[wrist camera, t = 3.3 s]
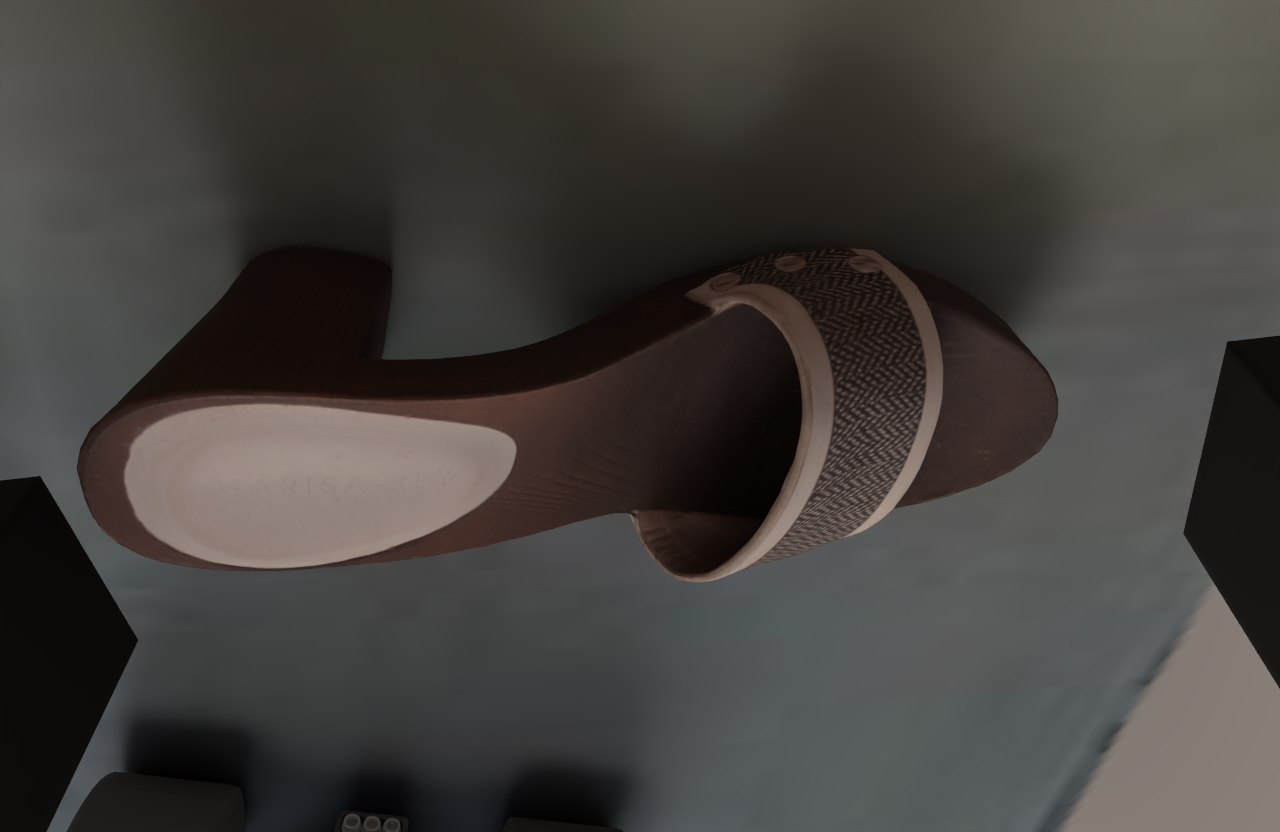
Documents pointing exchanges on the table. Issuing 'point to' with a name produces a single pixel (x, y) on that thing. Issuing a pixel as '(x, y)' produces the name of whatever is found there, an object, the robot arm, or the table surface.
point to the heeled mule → (565, 419)
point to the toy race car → (224, 810)
